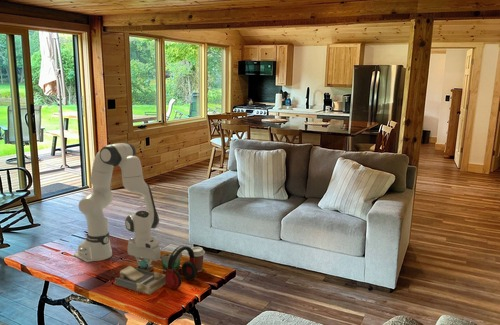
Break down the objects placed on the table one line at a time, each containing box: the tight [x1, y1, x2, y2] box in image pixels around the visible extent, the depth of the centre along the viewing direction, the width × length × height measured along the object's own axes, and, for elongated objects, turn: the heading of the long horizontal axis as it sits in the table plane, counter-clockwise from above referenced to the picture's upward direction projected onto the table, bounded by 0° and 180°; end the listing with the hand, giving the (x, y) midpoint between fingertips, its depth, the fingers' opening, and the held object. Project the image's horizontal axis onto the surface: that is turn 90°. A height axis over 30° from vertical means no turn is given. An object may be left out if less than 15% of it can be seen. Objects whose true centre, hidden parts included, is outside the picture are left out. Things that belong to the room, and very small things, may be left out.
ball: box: [138, 258, 149, 269], centre depth 217 cm, size 5×5×5 cm
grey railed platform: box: [114, 267, 154, 292], centre depth 204 cm, size 14×14×3 cm
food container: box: [159, 252, 183, 274], centre depth 216 cm, size 12×6×10 cm, turn 123°
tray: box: [136, 271, 167, 296], centre depth 200 cm, size 8×14×4 cm, turn 154°
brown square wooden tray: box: [134, 264, 154, 272], centre depth 218 cm, size 7×7×2 cm
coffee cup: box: [190, 246, 206, 273], centre depth 219 cm, size 9×9×12 cm
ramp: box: [119, 265, 144, 282], centre depth 205 cm, size 10×7×4 cm
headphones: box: [164, 245, 198, 290], centre depth 202 cm, size 18×10×20 cm, turn 147°
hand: (144, 264), depth 217 cm, fingers closed on ball, 5 cm apart
